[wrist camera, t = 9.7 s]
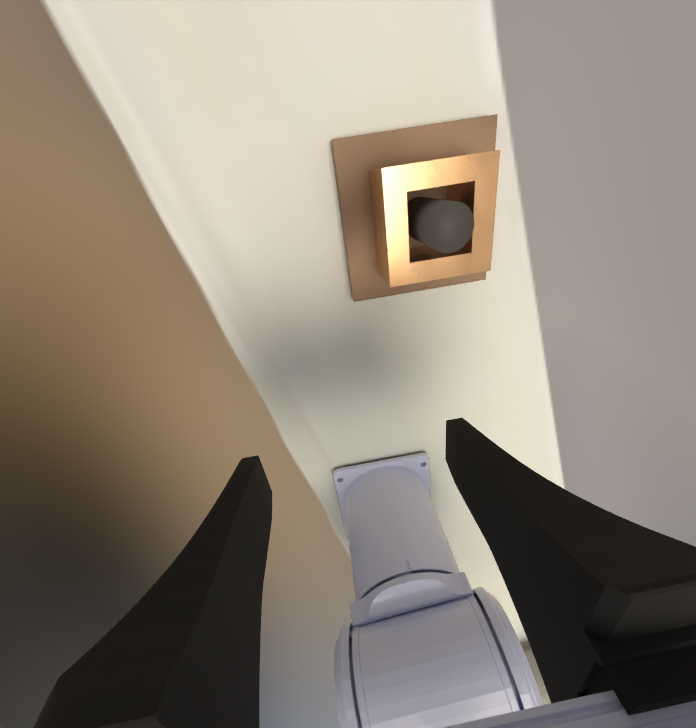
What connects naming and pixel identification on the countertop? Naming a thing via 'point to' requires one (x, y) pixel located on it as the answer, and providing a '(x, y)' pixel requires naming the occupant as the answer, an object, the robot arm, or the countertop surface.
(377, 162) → the peg board
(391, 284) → the collar
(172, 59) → the countertop surface
